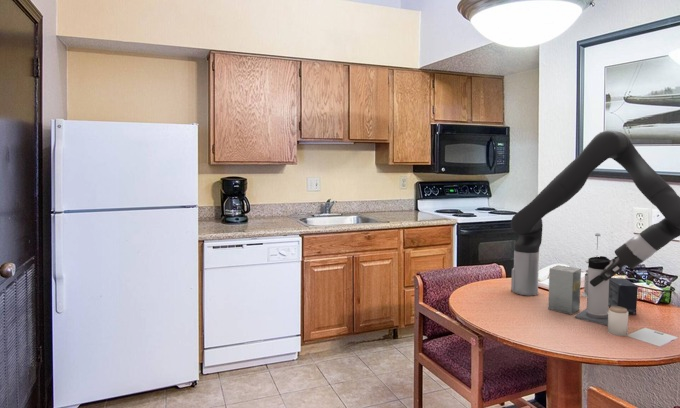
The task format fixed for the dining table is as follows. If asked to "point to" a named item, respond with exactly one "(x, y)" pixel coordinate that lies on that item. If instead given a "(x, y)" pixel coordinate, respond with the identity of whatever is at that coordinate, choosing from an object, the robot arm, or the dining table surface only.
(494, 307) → the dining table surface
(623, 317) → the cream jar
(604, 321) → the slate pad
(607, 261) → the travel mug
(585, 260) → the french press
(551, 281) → the box
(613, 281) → the small box
